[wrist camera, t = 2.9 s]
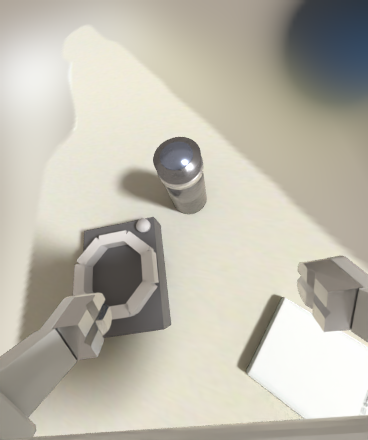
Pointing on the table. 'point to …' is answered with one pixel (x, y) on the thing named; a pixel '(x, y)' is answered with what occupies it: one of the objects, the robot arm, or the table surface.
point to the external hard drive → (311, 365)
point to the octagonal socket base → (126, 275)
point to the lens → (182, 173)
